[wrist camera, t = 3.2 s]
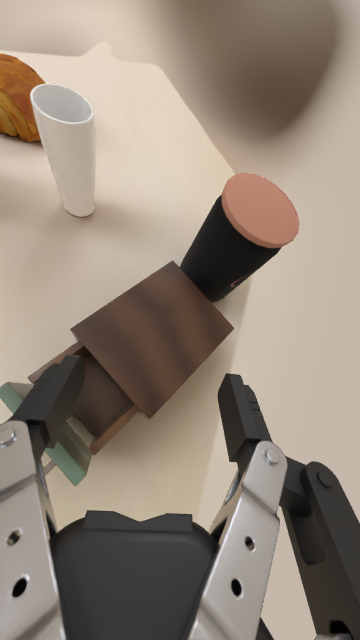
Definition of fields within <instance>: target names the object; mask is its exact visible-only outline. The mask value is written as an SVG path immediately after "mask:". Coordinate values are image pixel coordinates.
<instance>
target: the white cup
mask: <svg viewBox="0 0 360 640" xmlns="http://www.w3.org/2000/svg"><path fill="white" fill-rule="evenodd" d="M30 100H31V104H32V108H33V113H34V117H35V121H36V125H37V129H38V132H39V136H40V139H41V142H42V145H43V148H44V151H45V153H46V156H47V159H48V162H49V165H50V167H51V170H52V173H53V176H54V179H55V181H56V184H57V187H58V190H59V193H60V196H61V200H62V204H63V206H64V208H65V209H66V210H67V211H68V212H69V213H71V214H72V215H75V216H79V217H84V216H88V215H90V214H92V213H93V211H94V209H95V170H96V132H95V121H94V111H93V108H92V106H91V104H90V103H89V101H88V100H87V99H86V98H85V97H84V96H82V95H81V94H80V93H78V92H77V91H75V90H73V89H71V88H68V87H66V86H62V85H58V84H41V85H38V86H36V87H35V88H33V89H32V91H31V93H30Z"/></svg>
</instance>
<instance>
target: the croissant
mask: <svg viewBox="0 0 360 640" xmlns="http://www.w3.org/2000/svg"><path fill="white" fill-rule="evenodd" d="M41 84H46V83H45V82H44V81H43V80H42V78H41V77H40V76H39V75H38V74H37V73H36V71H35V70H34V69H32V68H31V67H29V66H28V65H26V64H25V63H24V62H22V61H20V60H19V59H18V58H16V57H13V56H10V55H6V54H0V132H1V133H2V134H3V132H4V133H8V134H9V135H12V136H18V138H19V139H21V140H23V141H27V142H31V141H38V140H41V139H40V136H39V132H38V129H37V125H36V121H35V117H34V113H33V108H32V104H31V100H30V93H31V91H32V89H33V88H35V87H36V86H38V85H41Z"/></svg>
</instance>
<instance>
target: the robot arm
mask: <svg viewBox="0 0 360 640" xmlns="http://www.w3.org/2000/svg"><path fill="white" fill-rule="evenodd" d="M84 379H85V371H84V362H83V357H82V356H79V355H70V354H67V355H66V356H65V357H64V358H63V360H62V361H61V363H60V364H58V363H53V364H52V365H51V366H49V367H48V368H47V369H45V370H44V371H43V373H42V374H41V376H40V377H39V379H38V381H36V383H35V384H34V386H33V388H32V389H31V390H30V391H29V393H28V394H27V396H26V397H25V399H24V400H23V402H22V403H21V404H20V406H19V407H18V409H17V410H16V412H15V413H14V414H13V416H12V417H11V418H10V420H9V421H8V422H5V423H3V424H1V425H0V640H274V639H273V637H272V635H271V634H270V632H269V630H268V629H267V627H266V625H265V624H264V622H263V620H262V618H261V617H260V616H261V611H262V607H263V602H264V597H265V593H266V588H267V583H268V579H269V574H270V570H271V565H272V560H273V556H274V551H275V546H276V542H277V537H278V532H279V527H280V520H279V518H278V517H277V509H278V505H279V506H281V508H282V511H283V515H284V518H285V522H286V526H287V529H288V533H289V537H290V540H291V543H292V547H293V551H294V555H295V558H296V562H297V565H298V569H299V573H300V576H301V580H302V583H303V587H304V590H305V594H306V598H307V601H308V605H309V609H310V612H311V616H312V619H313V623H314V627H315V630H316V634H317V636H316V637H315V639H314V640H360V523H359V521H358V519H357V517H356V515H355V513H354V511H353V509H352V507H351V505H350V503H349V501H348V499H347V497H346V495H345V493H344V491H343V489H342V487H341V485H340V483H339V481H338V479H337V477H336V476H335V475H334V474H333V472H332V471H331V470H330V469H328V468H327V467H326V466H325V465H323V464H321V463H319V462H314V461H313V462H310V463H309V464H307V465H304V464H302V463H299V462H298V461H295V460H293V459H291V458H288V457H286V456H285V455H284V453H283V452H282V451H281V449H280V448H279V447H278V446H277V445H275V444H274V443H273V442H272V440H271V437H270V434H269V432H268V429H267V426H266V423H265V421H264V419H263V415H262V413H261V411H260V407H259V405H258V402H257V399H256V396H255V393H254V392H253V391H252V390H251V388H250V387H249V386H248V385H244V384H243V381H242V378H241V376H240V375H236V374H228V373H227V374H226V375H225V377H224V379H223V381H222V384H221V386H220V388H219V391H218V403H219V408H220V413H221V419H222V424H223V429H224V435H225V440H226V445H227V451H228V456H229V461H230V462H237V464H238V470H237V472H236V474H235V477H234V479H233V481H232V484H231V486H230V488H229V490H228V493H227V495H226V498H225V500H224V502H223V504H222V507H221V509H220V510H219V512H218V514H217V516H216V517H215V519H214V521H213V524H212V525H211V528H210V530H209V532H207V531H206V530H205V529H204V528H203V527H201V526H200V525H198V524H197V523H195V522H192V514H170V513H167V514H164V515H161V516H158V517H154V518H151V519H148V520H145V521H141V522H139V521H136V520H134V519H131V518H129V517H126V516H124V515H121V514H119V513H117V512H114V511H91V510H87V512H86V515H85V518H81V519H79V520H77V521H74V522H72V523H71V524H69V525H67V526H66V527H64V528H63V529H62V530H60V531H59V532H58V528H57V524H56V519H55V515H54V512H53V508H52V505H51V502H50V498H49V493H48V489H47V484H46V480H45V475H44V471H43V466H42V462H41V457H42V455H43V453H44V451H45V449H46V448H50V449H54V447H55V445H56V443H57V441H58V439H59V436H60V434H61V432H62V430H63V428H64V425H65V423H66V421H67V419H68V417H69V415H70V412H71V410H72V408H73V406H74V404H75V401H76V399H77V397H78V395H79V393H80V391H81V388H82V386H83V383H84Z"/></svg>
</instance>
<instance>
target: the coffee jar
mask: <svg viewBox="0 0 360 640" xmlns="http://www.w3.org/2000/svg"><path fill="white" fill-rule="evenodd" d="M298 230H299V220H298V215H297V212H296V210H295V208H294V206H293V204H292V202H291V201H290V200H289V198H288V197H287V196H286V194H285V193H284V192H283V191H282V190H280V189H279V188H278V187H277V186H276V185H275V184H273V183H272V182H270V181H269V180H267V179H266V178H263V177H260V176H258V175H256V174H250V173H240V174H235V175H234V176H233V177H231V178H230V179H229V180H228V181H227V183H226V185H225V187H224V190H223V192H222V195H221V196H219V197H218V199H217V200H216V202H215V204H214V205H213V207H212V209H211V211H210V213H209V214H208V216H207V218H206V220H205V222H204V223H203V225H202V227H201V229H200V231H199V232H198V234H197V236H196V238H195V239H194V241H193V243H192V245H191V247H190V248H189V250H188V252H187V254H186V256H185V257H184V259H183V261H182V263H181V266H180V269H181V270H182V271H183V272H184V273H185V274H186V275H187V277H188V278H189V279H190V280H191V281H192V282H193V283H194V284H195V285H196V286H197V288H198V289H199V290H200V291H201V292H202V293H203V294H204V295H205V296H206V298H207V299H208V300H209V301H210V302H214V301H218V300H220V299H222V298H224V297H225V296H226V295H227V294H229V293H230V292H231V291H232V290H234V289H235V288H236V287H237V286H238V285H240V284H241V283H242V282H243V281H244V280H246V279H247V278H248V277H249V276H250V275H252V274H253V273H254V272H255V271H256V270H258V269H259V268H260V267H261V266H263V265H264V264H265V263H266V262H267V261H268V260H270V259H271V258H272V257H273V256H275V255H276V254H277V253H278V251H279V250H280V249H281V247H282V246H284V245H286V244H288V243H289V242H291V241H293V239H294V238H295V236H296V235H297V234H298Z"/></svg>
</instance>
